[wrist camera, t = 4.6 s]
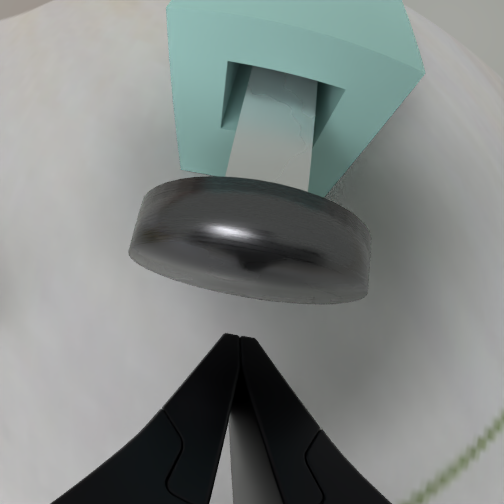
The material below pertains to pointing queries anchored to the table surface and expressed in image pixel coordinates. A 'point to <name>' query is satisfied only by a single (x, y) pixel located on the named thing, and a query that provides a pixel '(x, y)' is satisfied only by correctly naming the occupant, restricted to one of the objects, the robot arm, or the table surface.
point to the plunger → (259, 212)
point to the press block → (293, 62)
